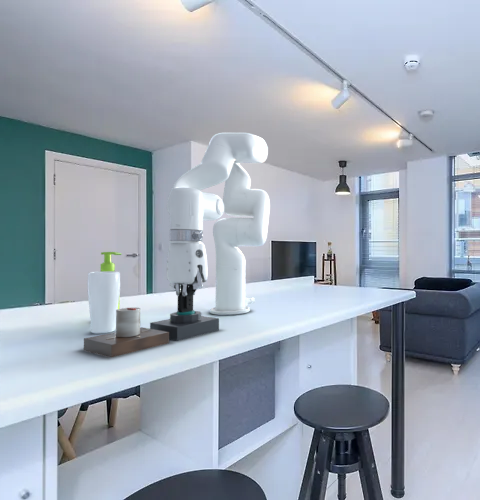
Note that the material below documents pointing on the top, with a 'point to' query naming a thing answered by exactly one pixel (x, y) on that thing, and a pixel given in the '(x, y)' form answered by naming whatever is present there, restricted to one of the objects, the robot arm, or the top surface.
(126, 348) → the panel
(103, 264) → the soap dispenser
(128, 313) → the lock knob
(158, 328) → the button base
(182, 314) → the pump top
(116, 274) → the white lotion bottle
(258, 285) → the top surface
